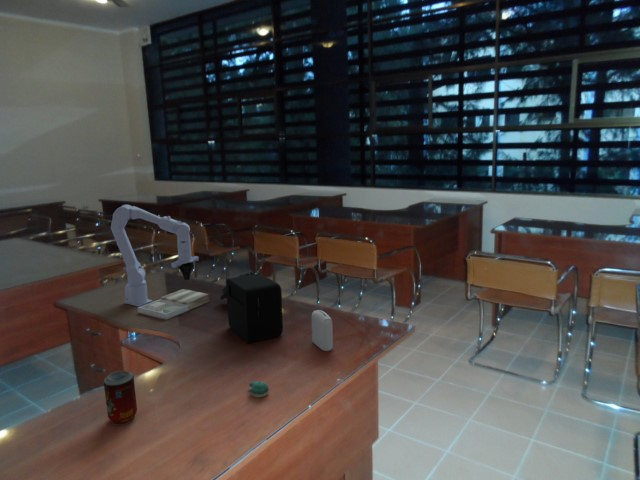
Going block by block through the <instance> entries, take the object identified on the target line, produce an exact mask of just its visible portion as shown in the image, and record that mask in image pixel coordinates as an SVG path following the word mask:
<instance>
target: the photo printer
mask: <svg viewBox="0 0 640 480" xmlns="http://www.w3.org/2000/svg"><path fill="white" fill-rule="evenodd" d="M333 339H334V335H333V320H332V317H330V315H328V313H326V312H325V311H323V310H320V309H317V310H313V311H312V313H311V340H312V343H313V344H314V345H316V346H317V347H318V348H319V349H321V350H322V351H325V352H329V351H332V349H333V347H334V341H333Z"/></svg>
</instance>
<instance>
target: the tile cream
mask: <svg viewBox="0 0 640 480" xmlns="http://www.w3.org/2000/svg"><path fill="white" fill-rule="evenodd" d="M166 307H167V305H166V303H163V302H156V303H153V304H150V305H149V309H150V310H154V311H160V310H162V309H164V308H166Z"/></svg>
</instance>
